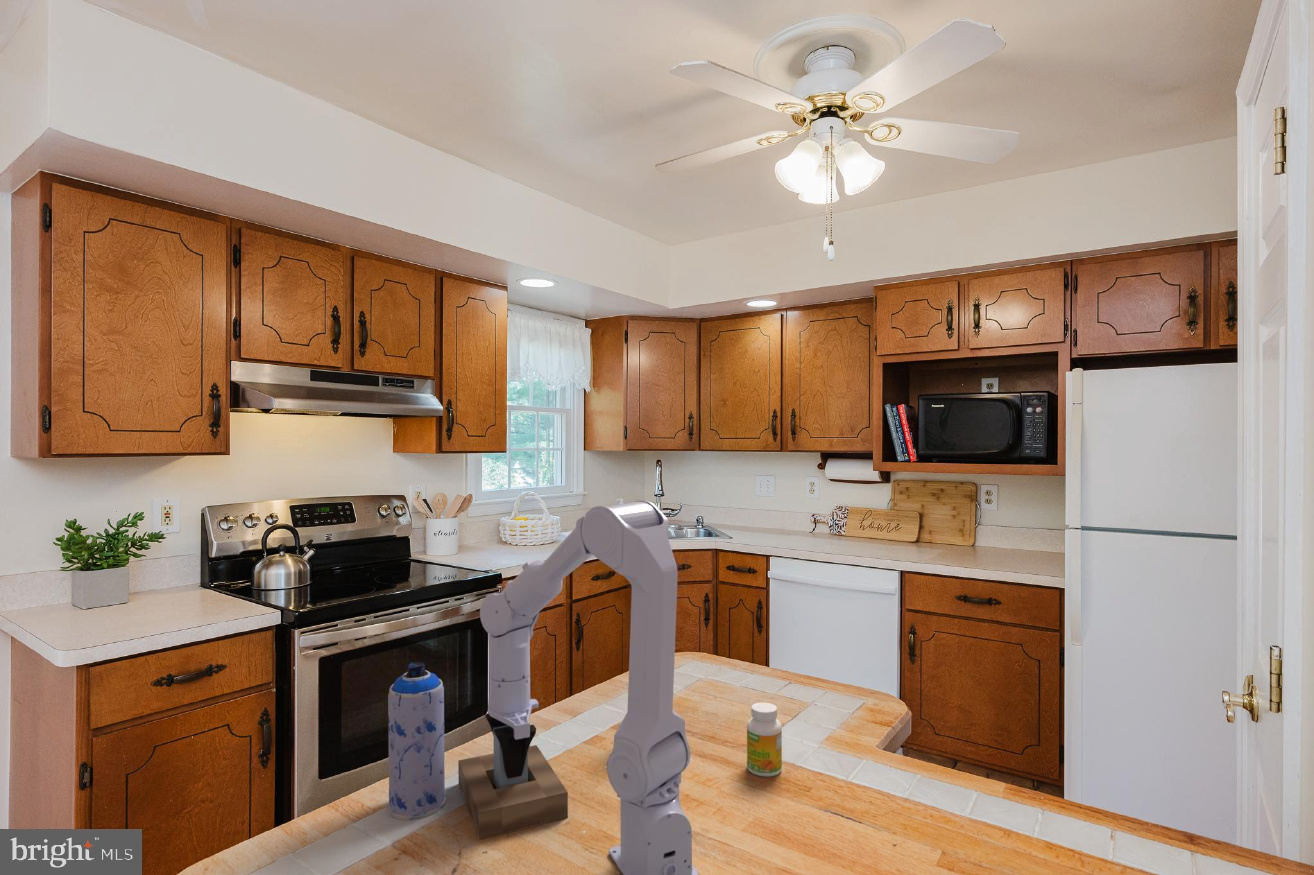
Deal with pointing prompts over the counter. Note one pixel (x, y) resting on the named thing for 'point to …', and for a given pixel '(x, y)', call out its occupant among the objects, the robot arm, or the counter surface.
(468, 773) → the walnut socket holder
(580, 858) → the counter surface
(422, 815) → the aerosol can
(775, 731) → the supplement bottle
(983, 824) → the counter surface
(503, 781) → the slate peg
